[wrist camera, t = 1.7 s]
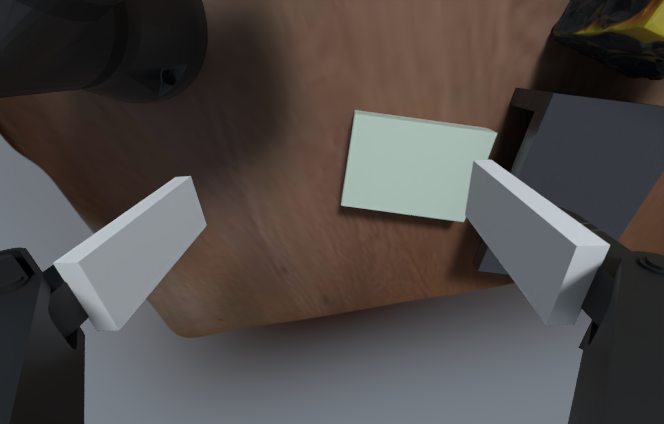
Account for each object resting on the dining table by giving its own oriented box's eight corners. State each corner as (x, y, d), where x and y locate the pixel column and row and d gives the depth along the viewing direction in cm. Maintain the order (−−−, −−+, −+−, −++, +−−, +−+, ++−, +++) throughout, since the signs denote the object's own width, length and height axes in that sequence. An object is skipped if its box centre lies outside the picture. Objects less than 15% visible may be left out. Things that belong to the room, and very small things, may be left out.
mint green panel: (341, 194, 35) (341, 205, 33) (354, 109, 31) (354, 113, 28) (455, 210, 36) (463, 222, 33) (484, 127, 31) (497, 133, 28)
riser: (459, 240, 37) (477, 270, 32) (516, 87, 29) (553, 93, 23) (553, 252, 37) (588, 284, 31) (637, 102, 29) (703, 111, 23)
